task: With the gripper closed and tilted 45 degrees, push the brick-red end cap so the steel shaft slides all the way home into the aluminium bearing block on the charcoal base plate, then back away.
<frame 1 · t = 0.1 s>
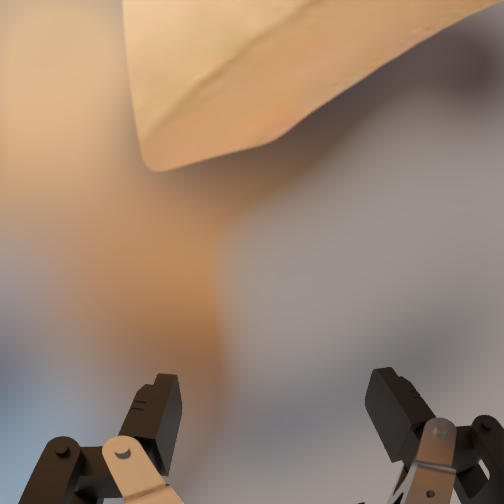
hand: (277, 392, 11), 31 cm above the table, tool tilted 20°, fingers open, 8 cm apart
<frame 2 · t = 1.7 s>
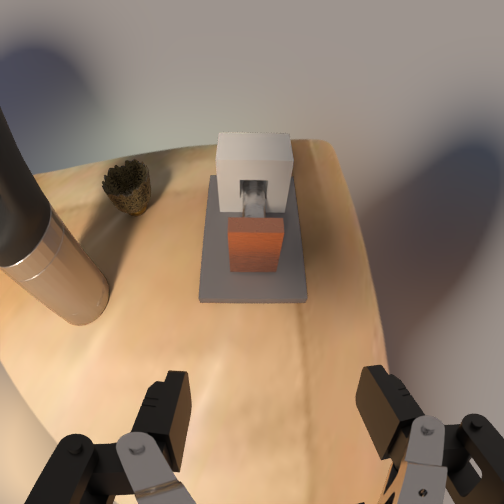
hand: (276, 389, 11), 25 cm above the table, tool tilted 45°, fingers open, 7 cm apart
cup: (138, 210, 47), on the table
bearing block: (252, 234, 45), on the table
shaft: (253, 216, 38), point 6 cm above the table, slide at 8.0 cm
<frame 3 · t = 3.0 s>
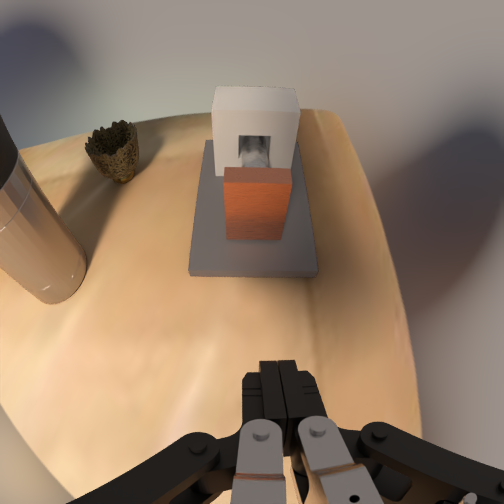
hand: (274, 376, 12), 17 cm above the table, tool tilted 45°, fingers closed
cup: (124, 177, 41), on the table
bearing block: (252, 200, 39), on the table
shaft: (254, 174, 32), point 7 cm above the table, slide at 8.0 cm
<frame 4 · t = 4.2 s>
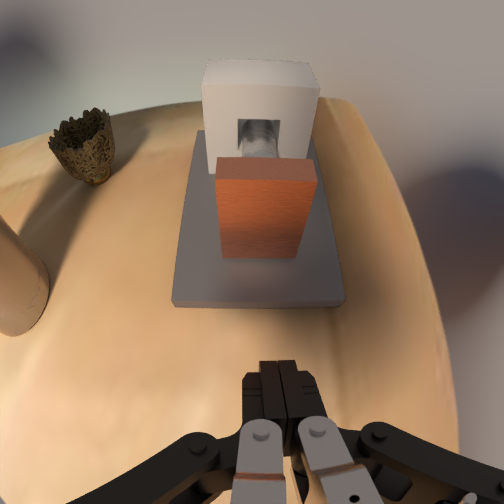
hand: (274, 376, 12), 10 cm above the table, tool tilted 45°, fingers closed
cup: (99, 178, 32), on the table
bearing block: (256, 204, 30), on the table
shaft: (259, 169, 24), point 7 cm above the table, slide at 8.0 cm
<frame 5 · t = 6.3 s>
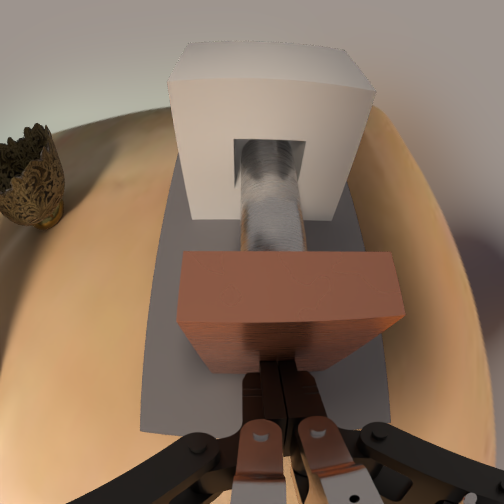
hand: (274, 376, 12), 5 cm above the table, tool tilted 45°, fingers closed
cup: (51, 217, 22), on the table
bearing block: (263, 268, 20), on the table
shaft: (272, 233, 14), point 6 cm above the table, slide at 8.0 cm, touching gripper
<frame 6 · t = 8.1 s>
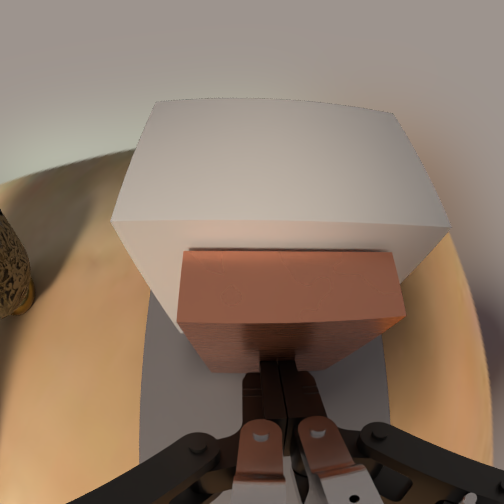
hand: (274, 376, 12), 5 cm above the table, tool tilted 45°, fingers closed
cup: (23, 298, 18), on the table
bearing block: (266, 388, 16), on the table
shaft: (272, 233, 14), point 6 cm above the table, slide at -0.1 cm, touching gripper
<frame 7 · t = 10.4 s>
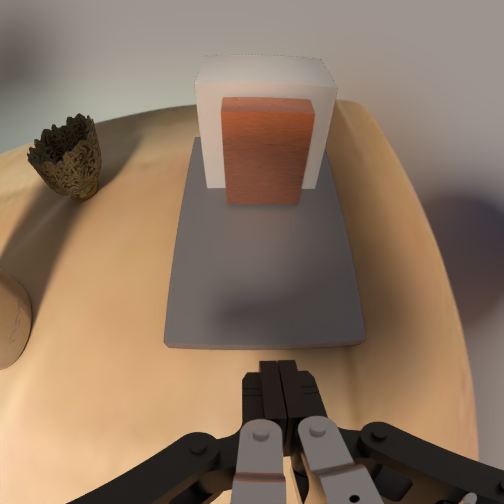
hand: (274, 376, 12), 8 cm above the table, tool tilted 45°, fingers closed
cup: (86, 192, 29), on the table
bearing block: (261, 224, 26), on the table
shaft: (262, 121, 24), point 6 cm above the table, slide at 0.0 cm
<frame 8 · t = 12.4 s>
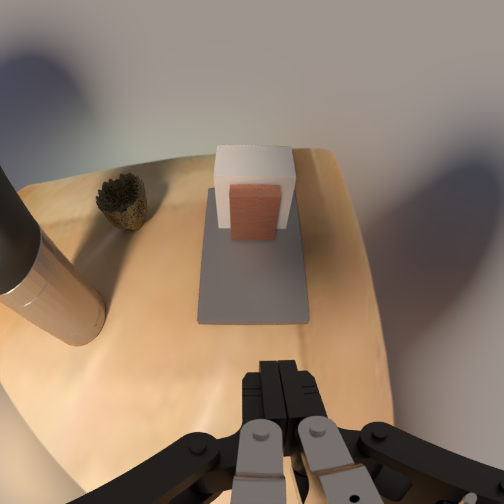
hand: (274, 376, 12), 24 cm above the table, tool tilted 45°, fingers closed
cup: (134, 224, 45), on the table
bearing block: (252, 251, 43), on the table
shaft: (253, 188, 41), point 7 cm above the table, slide at 0.0 cm
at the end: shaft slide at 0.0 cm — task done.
